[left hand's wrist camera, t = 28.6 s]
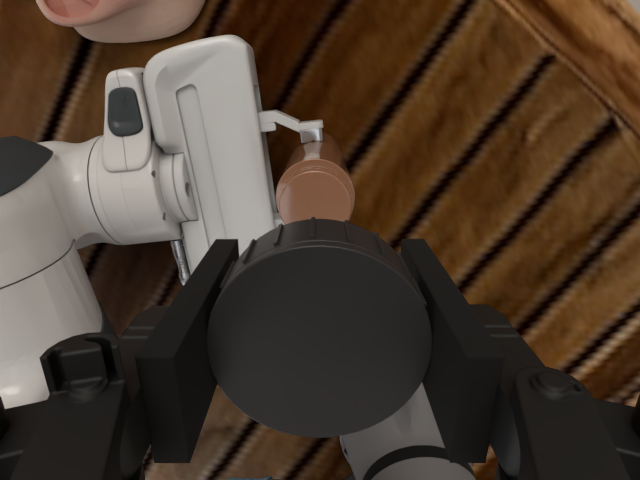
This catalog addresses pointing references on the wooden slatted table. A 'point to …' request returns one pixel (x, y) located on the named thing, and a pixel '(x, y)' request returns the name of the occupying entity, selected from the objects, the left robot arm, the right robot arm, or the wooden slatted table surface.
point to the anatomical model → (123, 18)
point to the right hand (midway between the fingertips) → (327, 168)
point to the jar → (315, 183)
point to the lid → (319, 330)
